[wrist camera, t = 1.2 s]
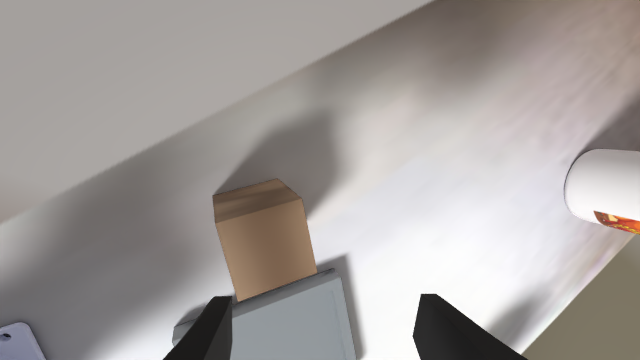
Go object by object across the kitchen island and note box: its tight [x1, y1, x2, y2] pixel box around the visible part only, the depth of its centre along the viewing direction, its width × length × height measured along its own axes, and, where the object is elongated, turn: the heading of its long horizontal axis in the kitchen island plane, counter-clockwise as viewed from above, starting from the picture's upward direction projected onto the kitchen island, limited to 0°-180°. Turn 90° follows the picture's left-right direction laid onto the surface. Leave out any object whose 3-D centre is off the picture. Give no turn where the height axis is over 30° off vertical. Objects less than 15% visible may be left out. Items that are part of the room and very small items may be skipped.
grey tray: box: [172, 269, 356, 360], centre depth 24 cm, size 12×10×2 cm
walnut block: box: [213, 179, 317, 302], centre depth 19 cm, size 4×4×6 cm
